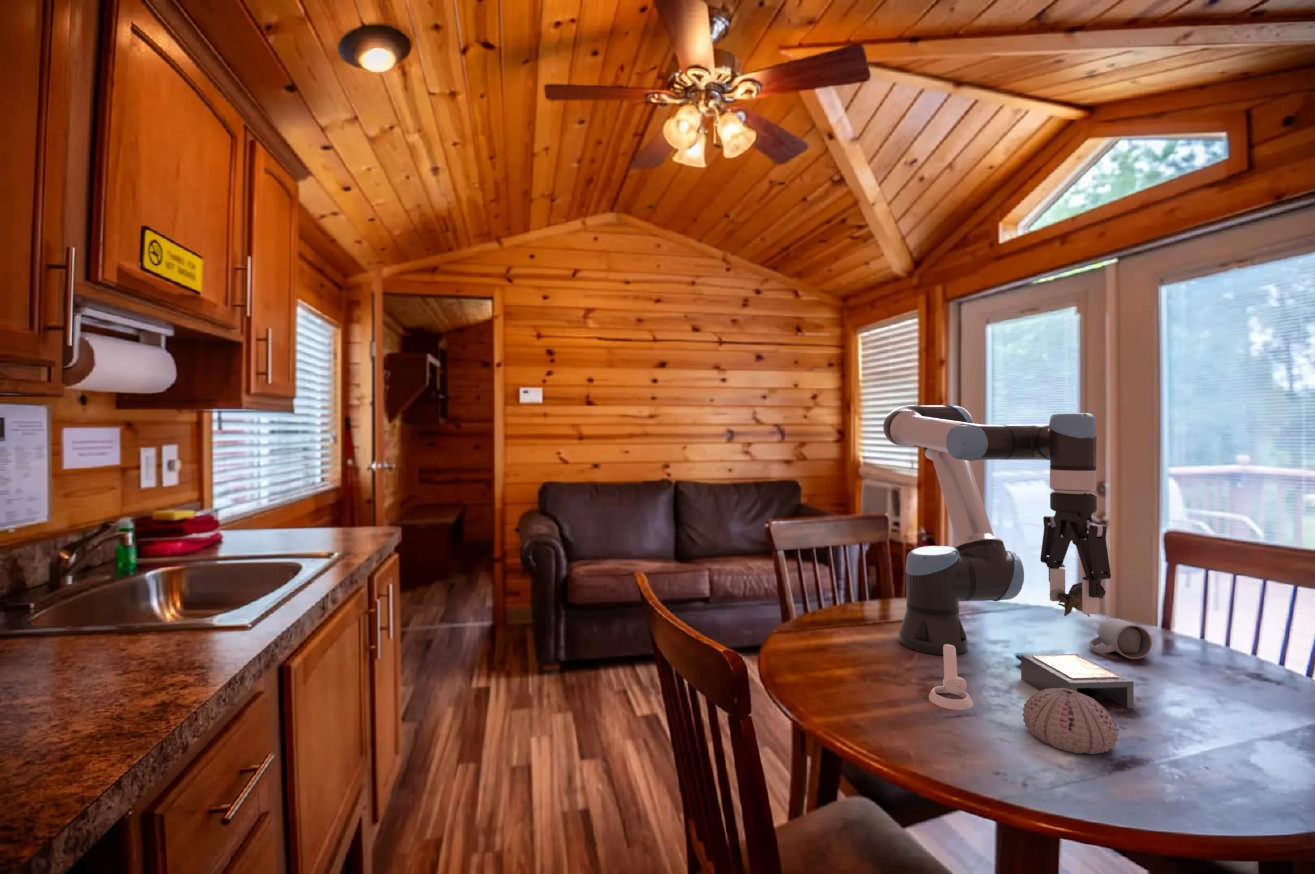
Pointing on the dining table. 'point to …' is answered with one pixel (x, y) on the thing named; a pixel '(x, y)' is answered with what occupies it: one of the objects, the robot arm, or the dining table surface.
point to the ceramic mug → (1122, 639)
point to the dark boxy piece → (1076, 676)
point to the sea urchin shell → (1070, 721)
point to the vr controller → (951, 684)
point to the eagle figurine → (1071, 597)
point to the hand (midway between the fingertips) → (1073, 606)
